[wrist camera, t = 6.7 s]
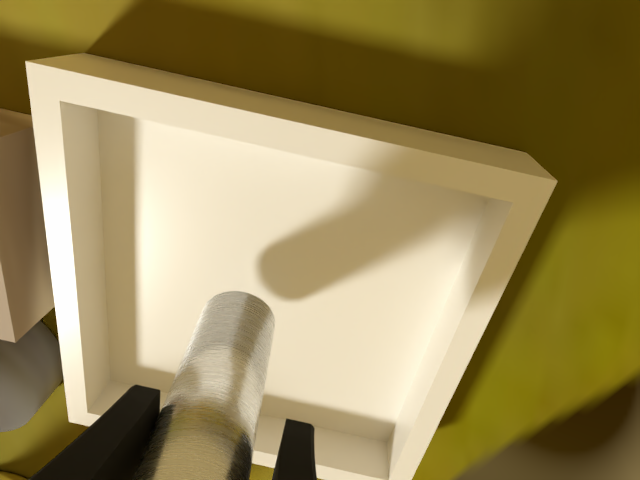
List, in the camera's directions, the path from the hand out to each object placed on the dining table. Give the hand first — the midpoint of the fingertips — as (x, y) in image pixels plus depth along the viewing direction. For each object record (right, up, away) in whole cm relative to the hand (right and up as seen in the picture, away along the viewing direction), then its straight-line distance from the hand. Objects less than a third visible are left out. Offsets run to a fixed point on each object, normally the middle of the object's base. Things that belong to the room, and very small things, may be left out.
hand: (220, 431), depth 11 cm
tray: (+1, +3, +6) cm, 6 cm away
